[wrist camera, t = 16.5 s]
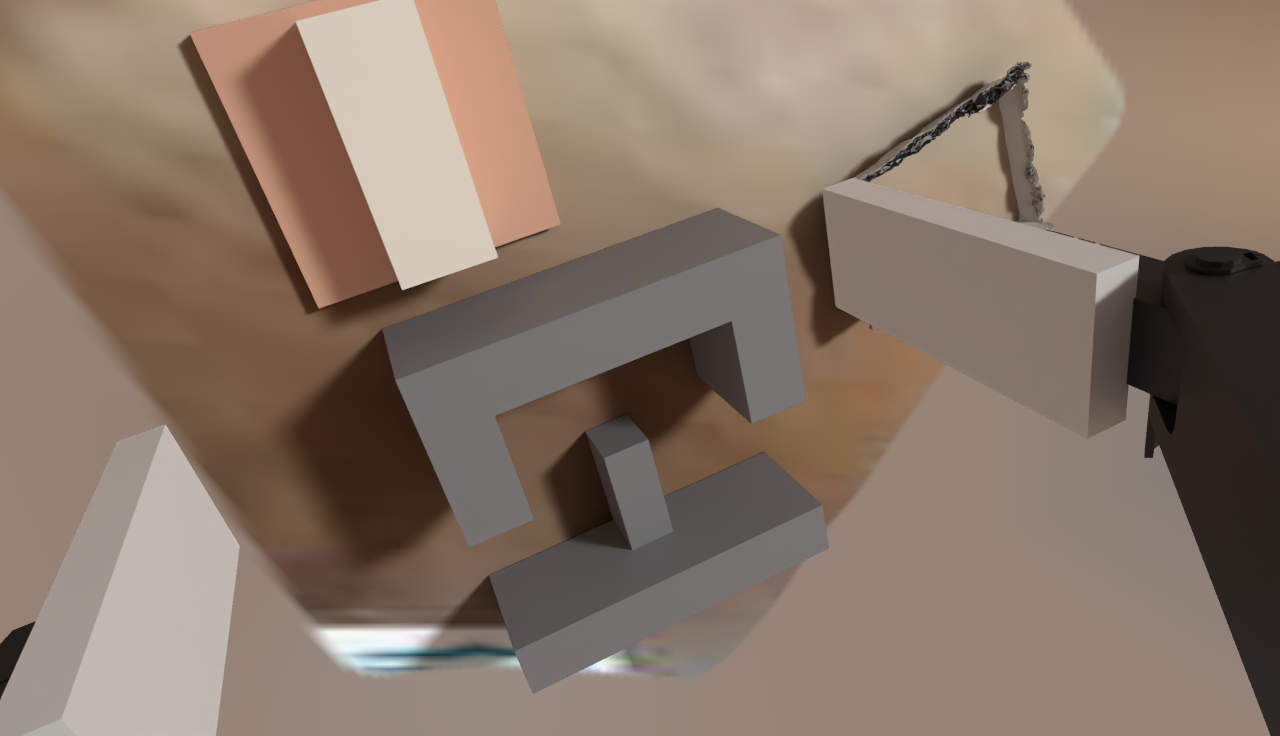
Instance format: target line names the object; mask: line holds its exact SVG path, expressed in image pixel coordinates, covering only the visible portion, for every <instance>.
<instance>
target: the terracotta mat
mask: <svg viewBox="0 0 1280 736" xmlns="http://www.w3.org/2000/svg"><path fill="white" fill-rule="evenodd" d="M374 1H378V0H316V1H312V2H308V3H304V4H301V5H297V6H293V7H289V8H285V9H281V10H277V11H273V12H269V13H266V14H262V15H258V16H254V17H250V18H246V19H242V20H238V21H234V22H231V23H227V24H223V25H219V26H215V27H211V28H207V29H203V30H199V31H196V32H192V33H190V35H191V38H192V40H193V42H194V44H195V46H196V48H197V50H198V52H199V55H200V57H201V59H202V61H203V63H204V65H205V67H206V69H207V72H208V74H209V76H210V78H211V80H212V82H213V84H214V87H215V89H216V91H217V93H218V95H219V97H220V99H221V101H222V104H223V106H224V108H225V110H226V112H227V114H228V116H229V118H230V121H231V123H232V125H233V127H234V129H235V131H236V133H237V135H238V138H239V140H240V142H241V144H242V146H243V148H244V150H245V153H246V155H247V157H248V159H249V161H250V163H251V165H252V167H253V170H254V172H255V174H256V176H257V178H258V180H259V182H260V184H261V187H262V189H263V191H264V193H265V195H266V197H267V199H268V201H269V204H270V206H271V208H272V210H273V212H274V214H275V216H276V219H277V221H278V223H279V225H280V227H281V229H282V231H283V233H284V236H285V238H286V240H287V242H288V244H289V246H290V248H291V250H292V253H293V255H294V257H295V259H296V261H297V263H298V265H299V268H300V270H301V272H302V274H303V276H304V278H305V280H306V282H307V285H308V287H309V289H310V291H311V293H312V295H313V297H314V299H315V302H316V304H317V306H318V308H322V307H325V306H328V305H331V304H334V303H336V302H339V301H342V300H345V299H348V298H351V297H354V296H357V295H359V294H362V293H365V292H368V291H371V290H374V289H377V288H380V287H382V286H385V285H388V284H391V283H394V282H397V281H398V278H397V276H396V273H395V271H394V268H393V266H392V263H391V261H390V258H389V256H388V253H387V251H386V248H385V246H384V243H383V241H382V238H381V235H380V233H379V230H378V228H377V225H376V223H375V220H374V218H373V215H372V213H371V210H370V208H369V205H368V203H367V200H366V198H365V195H364V193H363V190H362V188H361V185H360V183H359V180H358V178H357V175H356V173H355V170H354V168H353V165H352V162H351V160H350V157H349V155H348V152H347V150H346V147H345V145H344V142H343V140H342V137H341V135H340V132H339V130H338V127H337V125H336V122H335V120H334V117H333V115H332V112H331V110H330V107H329V105H328V102H327V100H326V97H325V94H324V92H323V89H322V87H321V84H320V82H319V79H318V77H317V74H316V72H315V69H314V67H313V64H312V62H311V59H310V57H309V54H308V52H307V49H306V47H305V44H304V42H303V39H302V37H301V34H300V32H299V29H298V27H297V24H296V21H298V20H302V19H306V18H310V17H314V16H318V15H322V14H326V13H330V12H334V11H338V10H342V9H346V8H350V7H354V6H358V5H362V4H366V3H370V2H374ZM414 2H415V6H416V9H417V12H418V15H419V18H420V21H421V24H422V27H423V30H424V33H425V36H426V39H427V42H428V45H429V48H430V51H431V54H432V57H433V60H434V64H435V67H436V70H437V73H438V76H439V79H440V82H441V85H442V88H443V91H444V94H445V97H446V100H447V103H448V106H449V109H450V112H451V115H452V119H453V122H454V125H455V128H456V131H457V134H458V137H459V140H460V143H461V146H462V149H463V152H464V155H465V158H466V161H467V164H468V167H469V170H470V174H471V177H472V180H473V183H474V186H475V189H476V192H477V195H478V198H479V201H480V204H481V207H482V210H483V213H484V216H485V219H486V222H487V225H488V228H489V232H490V235H491V238H492V241H493V244H494V247H497V246H500V245H503V244H506V243H509V242H512V241H515V240H518V239H520V238H523V237H526V236H529V235H532V234H535V233H538V232H541V231H543V230H546V229H549V228H552V227H555V226H558V225H561V224H560V220H559V217H558V214H557V210H556V207H555V203H554V200H553V196H552V193H551V190H550V186H549V183H548V179H547V176H546V172H545V169H544V166H543V162H542V159H541V155H540V152H539V148H538V145H537V142H536V138H535V135H534V131H533V128H532V124H531V121H530V117H529V114H528V111H527V107H526V104H525V100H524V97H523V93H522V90H521V87H520V83H519V80H518V76H517V73H516V69H515V66H514V63H513V59H512V56H511V52H510V49H509V45H508V42H507V39H506V35H505V32H504V28H503V25H502V21H501V18H500V15H499V11H498V8H497V4H496V1H495V0H414Z"/></svg>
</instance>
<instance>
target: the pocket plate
mask: <svg viewBox="0 0 1280 736" xmlns="http://www.w3.org/2000/svg"><path fill="white" fill-rule="evenodd" d="M382 330H383V334H384V338H385V342H386V346H387V350H388V354H389V358H390V362H391V365H392V369H393V373H394V377H395V381H396V383H397V385H398V388H399V390H400V392H401V394H402V397H403V399H404V401H405V404H406V406H407V408H408V410H409V413H410V415H411V417H412V419H413V422H414V424H415V426H416V429H417V431H418V433H419V435H420V438H421V440H422V442H423V444H424V447H425V449H426V451H427V454H428V456H429V458H430V460H431V463H432V465H433V467H434V470H435V472H436V474H437V476H438V479H439V481H440V483H441V485H442V488H443V490H444V492H445V495H446V497H447V499H448V501H449V504H450V506H451V508H452V510H453V513H454V515H455V517H456V520H457V522H458V524H459V526H460V529H461V531H462V533H463V535H464V538H465V540H466V542H467V545H468V547H469V548H470V547H472V546H474V545H477V544H479V543H481V542H483V541H486V540H488V539H490V538H493V537H495V536H497V535H499V534H502V533H504V532H506V531H509V530H511V529H513V528H515V527H518V526H520V525H522V524H525V523H527V522H529V521H531V520H534V518H533V515H532V513H531V510H530V507H529V505H528V502H527V500H526V497H525V494H524V492H523V489H522V486H521V484H520V481H519V478H518V476H517V473H516V471H515V468H514V465H513V463H512V460H511V457H510V455H509V452H508V449H507V447H506V444H505V442H504V439H503V436H502V434H501V431H500V428H499V426H498V423H497V420H496V418H495V416H496V415H498V414H501V413H503V412H506V411H508V410H511V409H513V408H516V407H518V406H521V405H523V404H526V403H528V402H531V401H533V400H536V399H538V398H541V397H543V396H546V395H548V394H551V393H553V392H556V391H558V390H561V389H563V388H566V387H568V386H571V385H573V384H576V383H578V382H581V381H583V380H586V379H588V378H591V377H593V376H596V375H598V374H601V373H603V372H606V371H608V370H611V369H613V368H616V367H618V366H621V365H623V364H626V363H628V362H631V361H633V360H636V359H638V358H641V357H643V356H646V355H648V354H651V353H653V352H656V351H658V350H661V349H663V348H666V347H668V346H671V345H673V344H676V343H678V342H681V341H683V340H686V339H688V338H689V341H690V346H691V350H692V355H693V359H694V363H695V368H696V372H697V376H698V377H699V378H700V379H701V380H702V381H704V382H705V383H706V384H707V385H708V386H709V387H710V388H711V389H713V390H714V391H715V392H716V393H717V394H718V395H719V396H721V397H722V398H723V399H724V400H725V401H726V402H727V403H729V404H730V405H731V406H732V407H733V408H734V409H735V410H736V411H738V412H739V413H740V414H741V415H742V416H743V417H744V418H746V419H747V420H748V421H749V422H750V423H751V424H753V423H755V422H758V421H760V420H762V419H765V418H767V417H769V416H771V415H774V414H776V413H778V412H781V411H783V410H785V409H787V408H790V407H792V406H794V405H797V404H799V403H801V402H803V401H806V396H805V389H804V383H803V376H802V369H801V363H800V356H799V350H798V343H797V337H796V330H795V324H794V317H793V311H792V304H791V298H790V291H789V285H788V278H787V271H786V265H785V258H784V252H783V245H782V239H781V235H780V234H778V233H775V232H773V231H771V230H768V229H766V228H764V227H761V226H759V225H757V224H754V223H752V222H750V221H747V220H745V219H743V218H740V217H738V216H736V215H733V214H731V213H729V212H726V211H724V210H722V209H719V208H716V209H713V210H711V211H708V212H705V213H702V214H700V215H697V216H694V217H691V218H688V219H686V220H683V221H680V222H677V223H675V224H672V225H669V226H666V227H664V228H661V229H658V230H655V231H652V232H650V233H647V234H644V235H641V236H639V237H636V238H633V239H630V240H627V241H625V242H622V243H619V244H616V245H614V246H611V247H608V248H605V249H603V250H600V251H597V252H594V253H591V254H589V255H586V256H583V257H580V258H578V259H575V260H572V261H569V262H566V263H564V264H561V265H558V266H555V267H553V268H550V269H547V270H544V271H542V272H539V273H536V274H533V275H530V276H528V277H525V278H522V279H519V280H517V281H514V282H511V283H508V284H505V285H503V286H500V287H497V288H494V289H492V290H489V291H486V292H483V293H481V294H478V295H475V296H472V297H469V298H467V299H464V300H461V301H458V302H456V303H453V304H450V305H447V306H444V307H442V308H439V309H436V310H433V311H431V312H428V313H425V314H422V315H419V316H417V317H414V318H411V319H408V320H406V321H403V322H400V323H397V324H395V325H392V326H389V327H386V328H383V329H382ZM585 432H586V436H587V439H588V442H589V445H590V448H591V451H592V454H593V458H594V461H595V464H596V467H597V470H598V473H599V477H600V480H601V483H602V486H603V489H604V492H605V495H606V499H607V502H608V505H609V508H610V511H611V514H612V517H613V520H611V521H609V522H607V523H605V524H602V525H600V526H598V527H596V528H593V529H591V530H589V531H587V532H585V533H582V534H580V535H578V536H576V537H573V538H571V539H569V540H567V541H564V542H562V543H560V544H558V545H556V546H553V547H551V548H549V549H547V550H544V551H542V552H540V553H538V554H535V555H533V556H531V557H529V558H527V559H524V560H522V561H520V562H518V563H515V564H513V565H511V566H509V567H507V568H504V569H502V570H500V571H498V572H495V573H493V574H491V575H489V577H490V580H491V583H492V586H493V589H494V592H495V595H496V598H497V601H498V604H499V607H500V610H501V613H502V616H503V619H504V622H505V625H506V628H507V631H508V634H509V637H510V640H511V643H512V646H513V649H514V652H515V654H516V656H517V658H518V661H519V663H520V665H521V667H522V670H523V672H524V674H525V677H526V679H527V681H528V683H529V686H530V688H531V690H532V692H533V694H534V693H536V692H538V691H540V690H542V689H544V688H546V687H548V686H550V685H552V684H554V683H556V682H558V681H560V680H562V679H564V678H566V677H568V676H570V675H572V674H574V673H576V672H578V671H580V670H582V669H585V668H587V667H589V666H591V665H593V664H595V663H597V662H599V661H601V660H603V659H605V658H607V657H609V656H611V655H613V654H615V653H617V652H619V651H621V650H623V649H625V648H627V647H629V646H631V645H633V644H635V643H637V642H639V641H641V640H643V639H645V638H648V637H650V636H652V635H654V634H656V633H658V632H660V631H662V630H664V629H666V628H668V627H670V626H672V625H674V624H676V623H678V622H680V621H682V620H684V619H686V618H688V617H690V616H692V615H694V614H696V613H698V612H700V611H702V610H704V609H706V608H708V607H710V606H713V605H715V604H717V603H719V602H721V601H723V600H725V599H727V598H729V597H731V596H733V595H735V594H737V593H739V592H741V591H743V590H745V589H747V588H749V587H751V586H753V585H755V584H757V583H759V582H761V581H763V580H765V579H767V578H769V577H771V576H773V575H776V574H778V573H780V572H782V571H784V570H786V569H788V568H790V567H792V566H794V565H796V564H798V563H800V562H802V561H804V560H806V559H808V558H810V557H812V556H814V555H816V554H818V553H820V552H822V551H824V550H826V549H828V548H829V546H828V539H827V533H826V526H825V520H824V513H823V507H822V504H821V503H820V502H818V501H817V500H816V499H815V498H814V497H813V496H812V495H811V494H810V493H809V492H808V491H806V490H805V489H804V488H803V487H802V486H801V485H800V484H799V483H798V482H797V481H796V480H794V479H793V478H792V477H791V476H790V475H789V474H788V473H787V472H786V471H785V470H784V469H782V468H781V467H780V466H779V465H778V464H777V463H776V462H775V461H774V460H773V459H772V458H770V457H769V456H768V455H767V454H766V453H765V452H763V453H761V454H758V455H756V456H754V457H752V458H749V459H747V460H745V461H743V462H741V463H738V464H736V465H734V466H732V467H729V468H727V469H725V470H723V471H720V472H718V473H716V474H714V475H712V476H709V477H707V478H705V479H703V480H700V481H698V482H696V483H694V484H691V485H689V486H687V487H685V488H683V489H680V490H678V491H676V492H674V493H671V494H669V495H667V496H665V497H664V495H663V491H662V488H661V484H660V480H659V477H658V473H657V469H656V466H655V462H654V458H653V455H652V451H651V447H650V444H649V440H648V438H647V437H646V436H645V435H644V434H643V433H642V431H641V430H640V429H639V428H638V427H637V425H636V424H635V423H634V422H633V421H632V419H631V418H630V417H629V416H628V415H627V414H626V415H623V416H621V417H619V418H616V419H614V420H611V421H609V422H607V423H604V424H602V425H599V426H597V427H595V428H592V429H590V430H587V431H585Z"/></svg>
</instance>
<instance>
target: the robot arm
mask: <svg viewBox="0 0 1280 736" xmlns="http://www.w3.org/2000/svg"><path fill="white" fill-rule="evenodd" d="M822 192H823V201H824V210H825V218H826V227H827V236H828V244H829V253H830V262H831V270H832V279H833V288H834V296H835V305H836V307H837V308H839V309H841V310H843V311H845V312H847V313H848V314H850V315H852V316H854V317H856V318H858V319H860V320H862V321H864V322H866V323H868V324H869V325H871V326H873V327H875V328H877V329H879V330H881V331H883V332H885V333H887V334H889V335H890V336H892V337H894V338H896V339H898V340H900V341H902V342H904V343H906V344H908V345H910V346H911V347H913V348H915V349H917V350H919V351H921V352H923V353H925V354H927V355H929V356H931V357H933V358H934V359H936V360H938V361H940V362H942V363H944V364H946V365H948V366H950V367H952V368H954V369H955V370H957V371H959V372H961V373H963V374H965V375H967V376H969V377H971V378H973V379H975V380H977V381H978V382H980V383H982V384H984V385H986V386H988V387H990V388H992V389H994V390H996V391H997V392H999V393H1001V394H1003V395H1005V396H1007V397H1009V398H1011V399H1013V400H1015V401H1017V402H1018V403H1021V404H1022V405H1024V406H1026V407H1028V408H1030V409H1032V410H1034V411H1036V412H1038V413H1039V414H1041V415H1043V416H1045V417H1047V418H1049V419H1051V420H1053V421H1055V422H1057V423H1059V424H1060V425H1062V426H1064V427H1066V428H1068V429H1071V430H1072V431H1074V432H1076V433H1078V434H1080V435H1081V436H1083V437H1085V438H1090V437H1092V436H1094V435H1096V434H1098V433H1100V432H1102V431H1104V430H1106V429H1108V428H1110V427H1112V426H1114V425H1116V424H1118V423H1120V422H1122V421H1124V420H1126V408H1127V395H1128V384H1129V385H1131V386H1133V387H1136V388H1138V389H1140V390H1143V391H1145V392H1147V393H1149V394H1150V402H1149V412H1148V422H1147V432H1146V442H1145V458H1153V453H1154V448H1156V447H1157V446H1159V445H1160V448H1161V451H1162V453H1163V456H1164V458H1165V461H1166V463H1167V466H1168V469H1169V471H1170V474H1171V477H1172V479H1173V482H1174V484H1175V487H1176V489H1177V492H1178V495H1179V498H1180V500H1181V503H1182V505H1183V508H1184V511H1185V513H1186V516H1187V518H1188V521H1189V524H1190V526H1191V529H1192V532H1193V534H1194V537H1195V539H1196V542H1197V544H1198V547H1199V550H1200V552H1201V555H1202V557H1203V560H1204V562H1205V565H1206V568H1207V571H1208V573H1209V576H1210V578H1211V581H1212V584H1213V586H1214V589H1215V592H1216V594H1217V597H1218V599H1219V602H1220V605H1221V607H1222V610H1223V612H1224V615H1225V618H1226V620H1227V623H1228V625H1229V628H1230V631H1231V633H1232V636H1233V639H1234V641H1235V644H1236V646H1237V649H1238V651H1239V654H1240V657H1241V659H1242V662H1243V664H1244V667H1245V670H1246V672H1247V675H1248V678H1249V680H1250V683H1251V685H1252V688H1253V691H1254V693H1255V696H1256V699H1257V701H1258V704H1259V706H1260V709H1261V711H1262V714H1263V717H1264V719H1265V722H1266V725H1267V727H1268V730H1269V732H1270V735H1271V736H1280V261H1278V262H1274V261H1273V260H1271V259H1270V258H1269V257H1267V256H1265V255H1264V254H1261V253H1258V252H1256V251H1251V250H1248V249H1241V248H1232V247H1202V248H1196V249H1189V250H1184V251H1181V252H1178V253H1175V254H1172V255H1171V256H1170V257H1168V258H1167V259H1166V260H1165V261H1161V260H1157V259H1154V258H1150V257H1146V256H1142V255H1139V254H1135V253H1132V252H1128V251H1124V250H1121V249H1117V248H1113V247H1109V246H1106V245H1102V244H1100V245H1098V244H1095V242H1091V241H1087V240H1084V239H1080V238H1079V239H1076V238H1074V237H1072V236H1068V235H1065V234H1062V233H1058V232H1054V231H1051V230H1044V229H1039V228H1036V227H1032V226H1028V225H1025V224H1021V223H1017V222H1014V221H1010V220H1006V219H1003V218H999V217H995V216H992V215H988V214H984V213H981V212H977V211H973V210H969V209H966V208H962V207H958V206H955V205H951V204H947V203H944V202H940V201H936V200H933V199H929V198H925V197H922V196H918V195H914V194H911V193H907V192H903V191H900V190H896V189H892V188H889V187H885V186H881V185H878V184H874V183H870V182H866V181H863V180H859V179H855V178H851V179H848V180H845V181H843V182H840V183H837V184H834V185H831V186H829V187H826V188H823V189H822ZM239 548H240V546H239V544H238V543H237V541H236V539H235V538H234V536H233V534H232V533H231V531H230V529H229V528H228V526H227V525H226V523H225V521H224V520H223V518H222V516H221V515H220V513H219V511H218V510H217V508H216V506H215V505H214V503H213V502H212V500H211V498H210V497H209V495H208V493H207V492H206V490H205V488H204V487H203V485H202V484H201V482H200V480H199V479H198V477H197V475H196V474H195V472H194V470H193V469H192V467H191V466H190V464H189V462H188V461H187V459H186V457H185V456H184V454H183V452H182V451H181V449H180V447H179V446H178V444H177V443H176V441H175V439H174V438H173V436H172V434H171V433H170V431H169V429H168V428H167V426H166V425H162V426H159V427H156V428H154V429H151V430H148V431H145V432H142V433H140V434H137V435H134V436H131V437H128V438H126V439H123V440H120V441H118V442H117V444H116V446H115V448H114V450H113V453H112V455H111V457H110V459H109V461H108V464H107V466H106V468H105V470H104V472H103V475H102V477H101V479H100V481H99V483H98V486H97V488H96V490H95V492H94V494H93V497H92V499H91V501H90V503H89V505H88V508H87V510H86V512H85V514H84V516H83V519H82V521H81V523H80V525H79V527H78V530H77V532H76V534H75V536H74V538H73V541H72V543H71V545H70V547H69V550H68V552H67V554H66V556H65V558H64V561H63V563H62V565H61V567H60V569H59V572H58V574H57V576H56V578H55V580H54V583H53V585H52V587H51V589H50V591H49V594H48V596H47V598H46V600H45V602H44V605H43V607H42V609H41V611H40V613H39V616H38V618H37V620H36V621H35V622H33V623H31V624H28V625H25V626H23V627H20V628H18V629H15V630H13V631H12V632H11V633H10V634H9V635H8V636H7V637H6V638H5V639H4V641H3V642H2V643H1V644H0V736H216V730H217V722H218V714H219V706H220V698H221V690H222V683H223V674H224V666H225V659H226V650H227V643H228V634H229V627H230V619H231V610H232V603H233V595H234V587H235V579H236V571H237V563H238V556H239Z"/></svg>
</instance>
